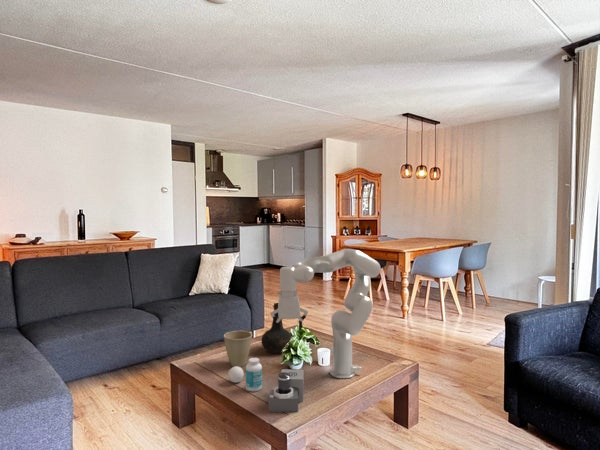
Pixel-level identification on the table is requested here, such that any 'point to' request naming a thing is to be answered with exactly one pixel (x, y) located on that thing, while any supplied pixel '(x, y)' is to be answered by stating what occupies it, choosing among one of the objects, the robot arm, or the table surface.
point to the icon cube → (296, 381)
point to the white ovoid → (236, 374)
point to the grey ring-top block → (283, 401)
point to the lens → (283, 383)
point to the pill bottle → (253, 375)
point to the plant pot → (238, 346)
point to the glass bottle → (275, 336)
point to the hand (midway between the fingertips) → (289, 329)
